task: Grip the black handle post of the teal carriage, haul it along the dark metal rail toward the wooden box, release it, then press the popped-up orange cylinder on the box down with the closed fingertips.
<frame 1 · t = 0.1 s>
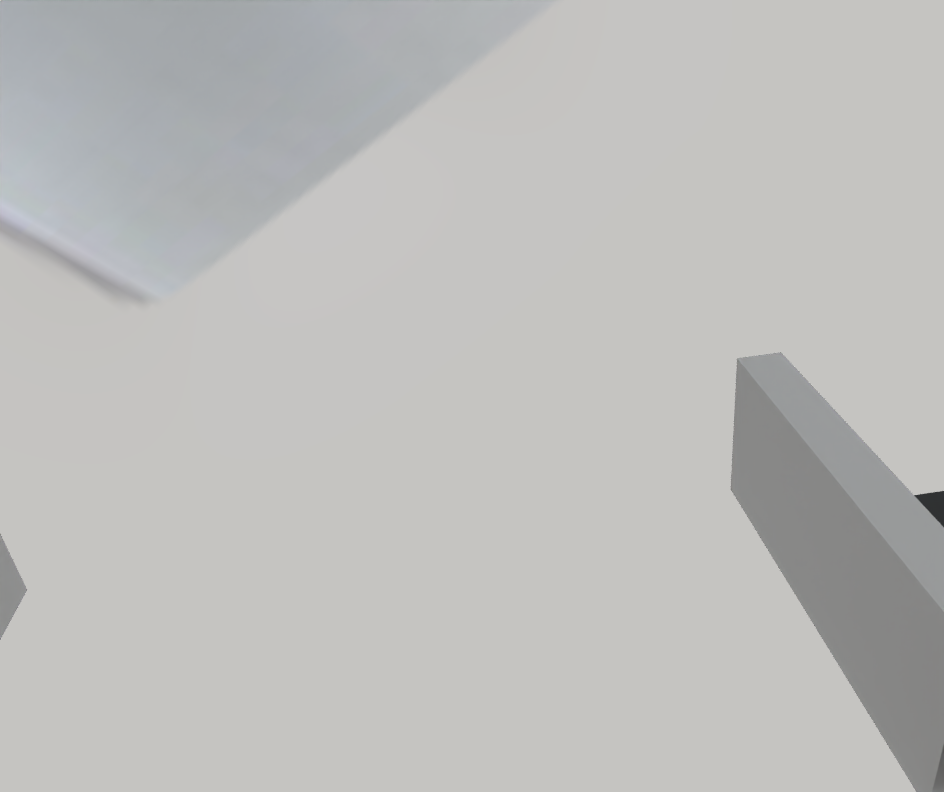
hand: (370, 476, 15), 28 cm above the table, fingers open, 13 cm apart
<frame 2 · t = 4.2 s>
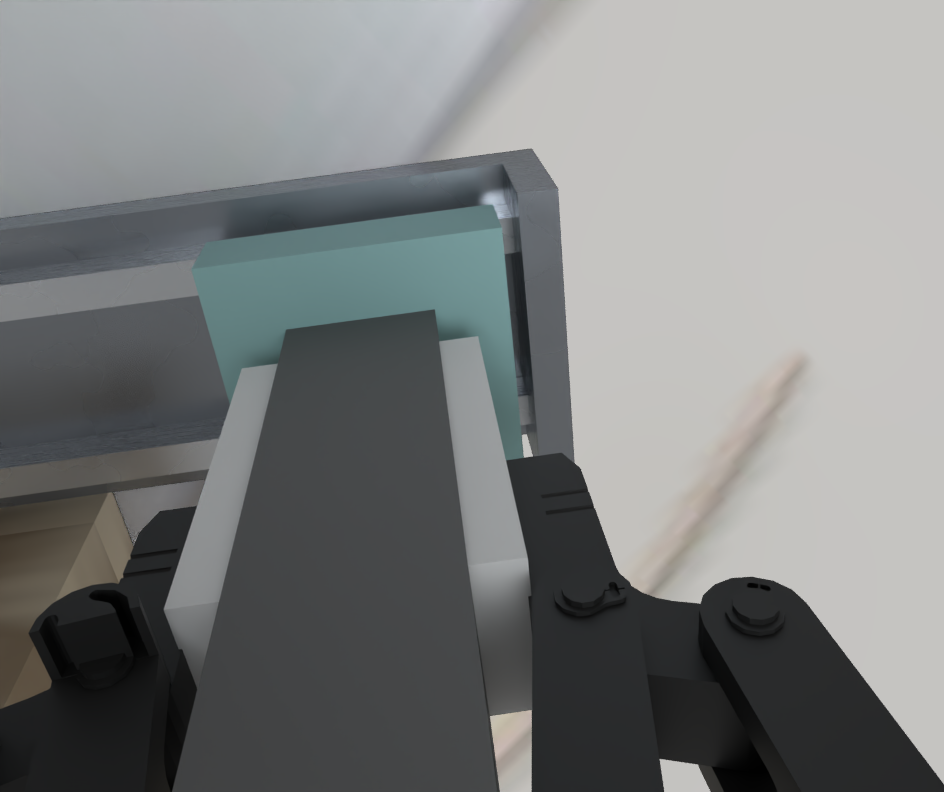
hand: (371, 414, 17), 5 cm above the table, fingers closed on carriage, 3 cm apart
rail track: (181, 339, 21), on the table
carriage: (369, 521, 14), point 9 cm above the table, slide at 0.0 cm, touching gripper
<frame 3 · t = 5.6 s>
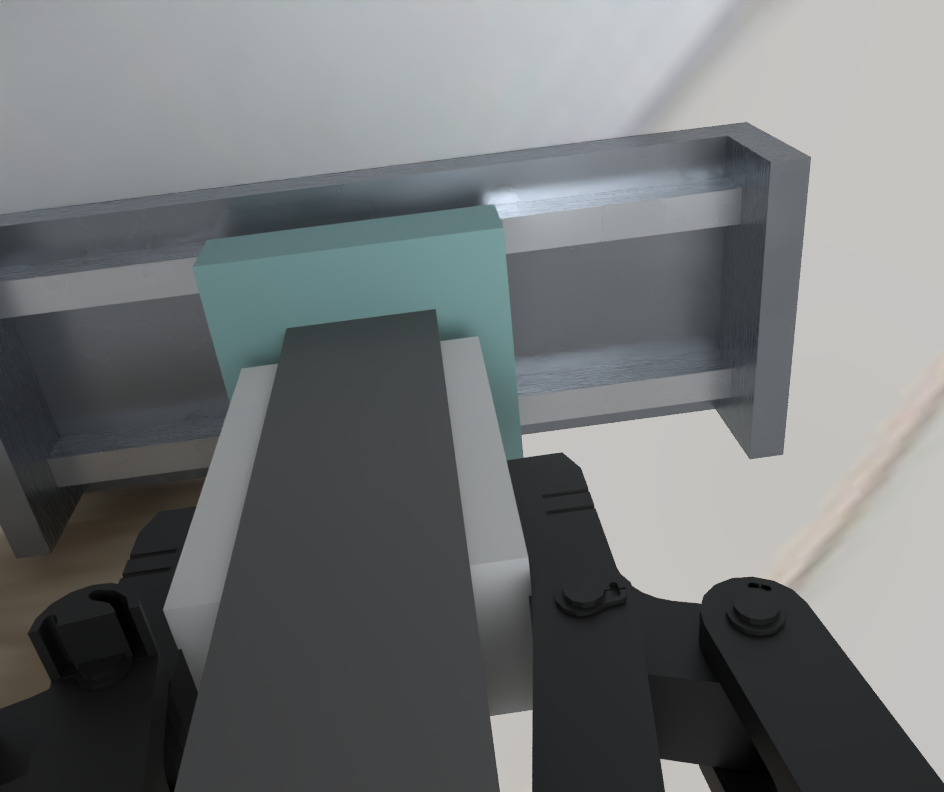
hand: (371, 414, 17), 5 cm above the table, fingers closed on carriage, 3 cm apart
rail track: (382, 311, 21), on the table
wooden box: (145, 584, 25), on the table
carriage: (369, 521, 14), point 9 cm above the table, slide at 5.0 cm, touching gripper
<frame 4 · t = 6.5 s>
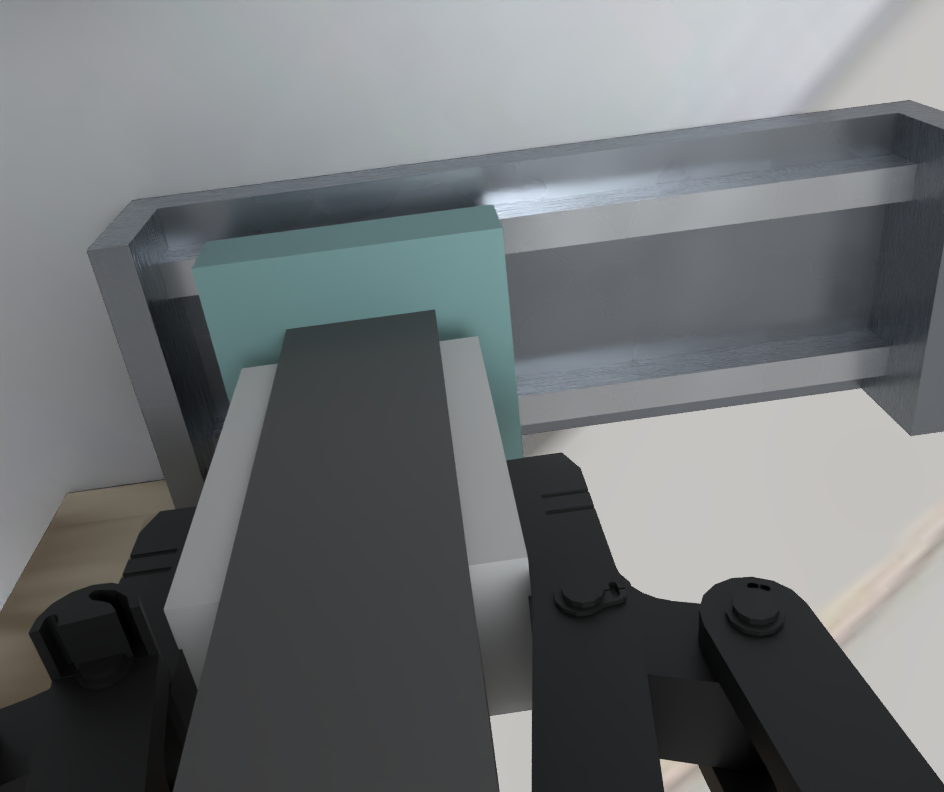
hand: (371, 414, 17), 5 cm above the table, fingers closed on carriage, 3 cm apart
rail track: (536, 291, 21), on the table
wooden box: (280, 567, 25), on the table
carriage: (369, 521, 14), point 8 cm above the table, slide at 8.8 cm, touching gripper
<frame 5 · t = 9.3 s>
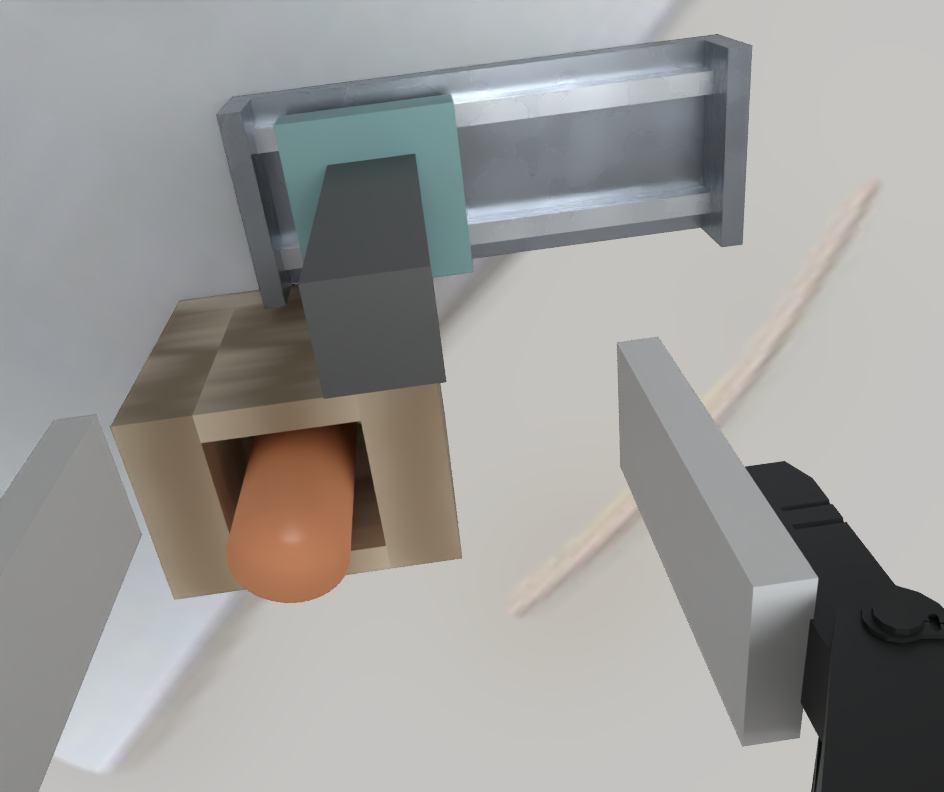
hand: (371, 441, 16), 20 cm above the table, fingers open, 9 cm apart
rail track: (486, 160, 33), on the table
wooden box: (318, 360, 36), on the table
orange cylinder: (300, 479, 29), point 9 cm above the table, slide at 0.0 cm
carriage: (377, 246, 25), point 8 cm above the table, slide at 9.0 cm
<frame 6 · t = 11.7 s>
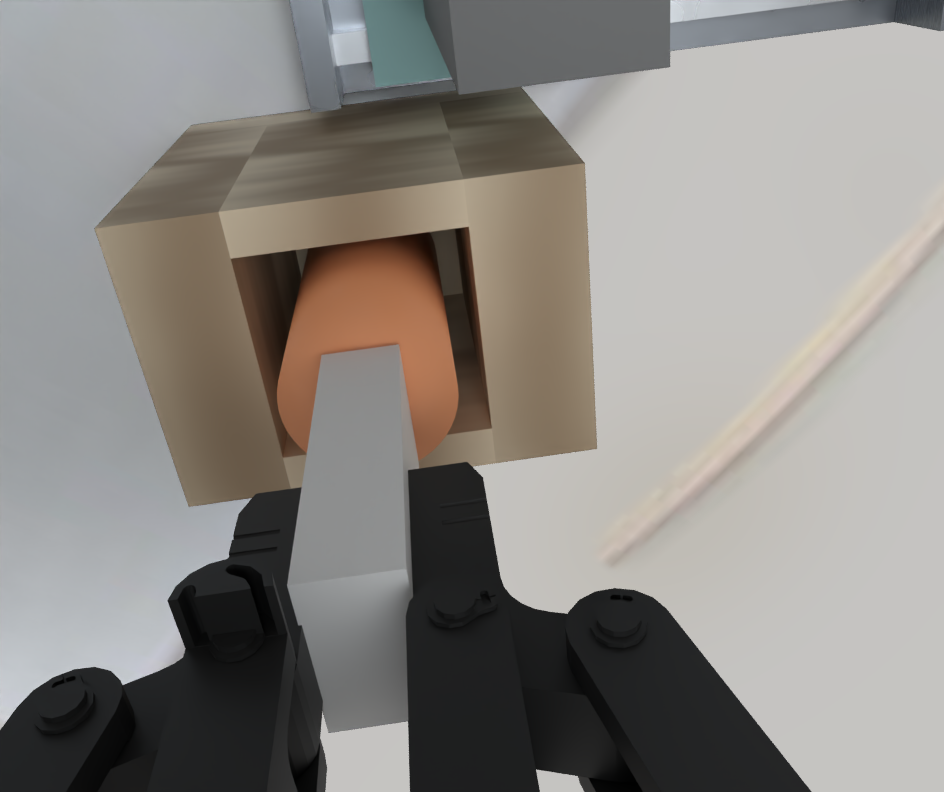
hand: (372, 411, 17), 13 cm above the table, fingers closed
wooden box: (374, 214, 28), on the table
orange cylinder: (371, 318, 20), point 8 cm above the table, slide at 0.7 cm, touching gripper
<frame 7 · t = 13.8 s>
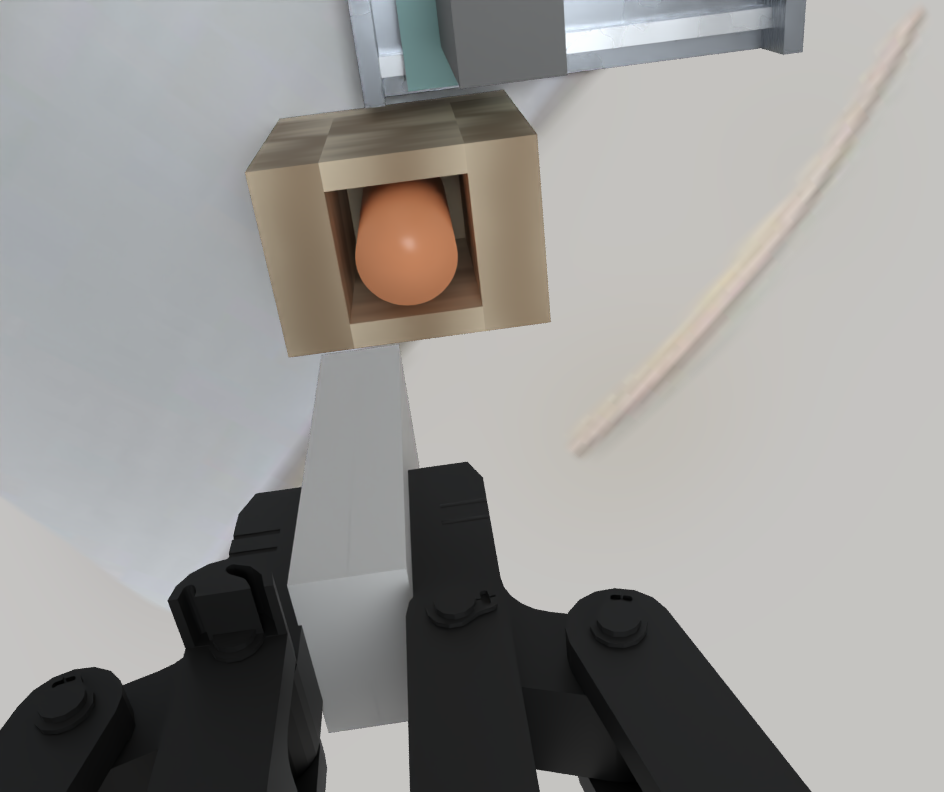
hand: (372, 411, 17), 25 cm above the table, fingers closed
wooden box: (403, 182, 39), on the table
orange cylinder: (405, 224, 34), point 7 cm above the table, slide at 2.3 cm
carriage: (486, 7, 28), point 8 cm above the table, slide at 9.0 cm
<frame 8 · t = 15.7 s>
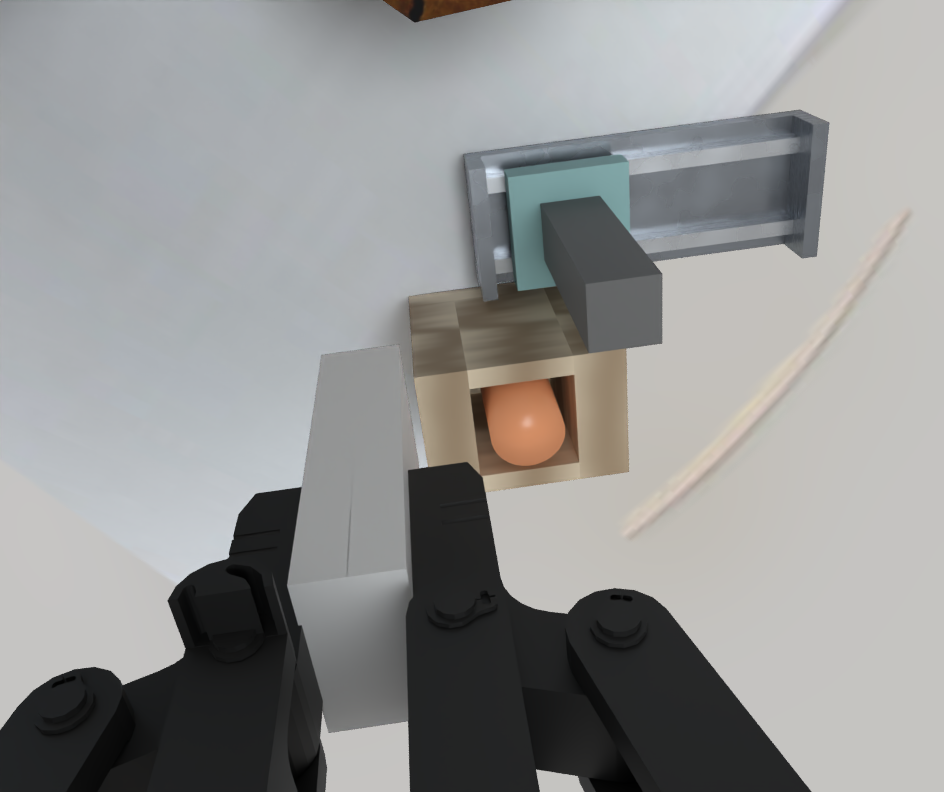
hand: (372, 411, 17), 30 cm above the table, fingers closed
rail track: (633, 196, 47), on the table
wooden box: (501, 339, 50), on the table
orange cylinder: (516, 394, 44), point 7 cm above the table, slide at 2.3 cm
carriage: (591, 260, 39), point 8 cm above the table, slide at 9.0 cm
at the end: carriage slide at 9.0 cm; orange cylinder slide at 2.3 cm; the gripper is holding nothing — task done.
